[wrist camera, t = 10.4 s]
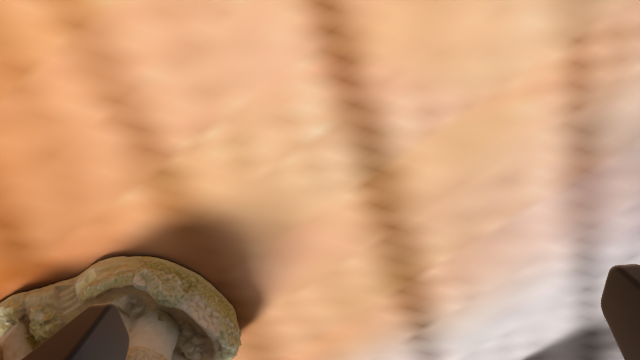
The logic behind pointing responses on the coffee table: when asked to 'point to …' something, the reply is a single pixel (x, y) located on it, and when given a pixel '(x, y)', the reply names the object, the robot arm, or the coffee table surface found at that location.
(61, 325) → the ceramic model
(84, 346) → the robot arm
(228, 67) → the coffee table surface
